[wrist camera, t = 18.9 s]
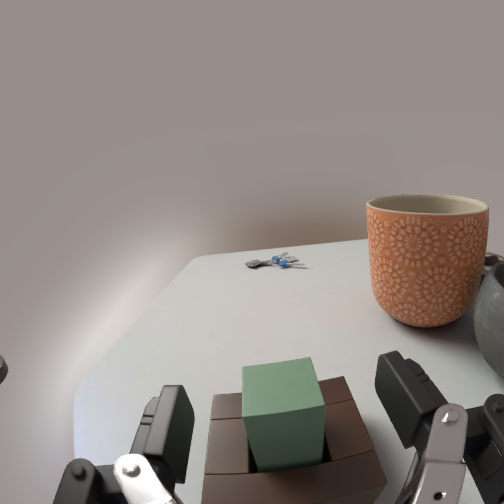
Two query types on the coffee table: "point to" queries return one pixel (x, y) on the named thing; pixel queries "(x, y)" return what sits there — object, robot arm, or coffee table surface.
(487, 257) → the donut
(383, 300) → the planter
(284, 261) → the key chain
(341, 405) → the mount block
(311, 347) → the coffee table surface
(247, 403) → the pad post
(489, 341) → the bowl
